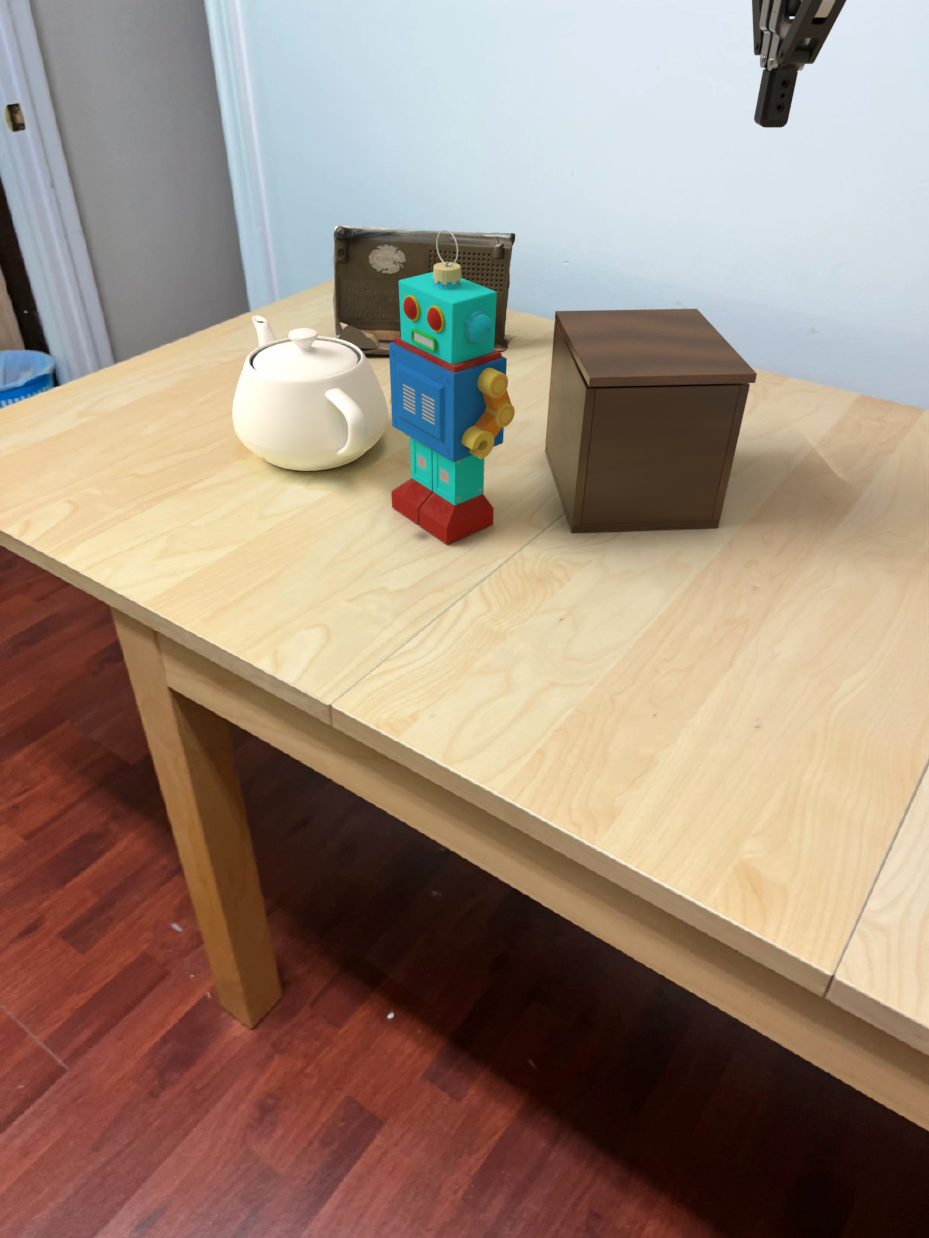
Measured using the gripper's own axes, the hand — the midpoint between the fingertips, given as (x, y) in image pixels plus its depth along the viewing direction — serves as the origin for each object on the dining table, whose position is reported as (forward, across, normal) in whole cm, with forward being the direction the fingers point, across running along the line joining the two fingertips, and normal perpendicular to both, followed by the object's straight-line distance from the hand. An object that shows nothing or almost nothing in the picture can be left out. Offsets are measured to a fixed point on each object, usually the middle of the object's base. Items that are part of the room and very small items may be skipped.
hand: (769, 125), depth 70 cm
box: (+31, -2, +8) cm, 32 cm away
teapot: (+31, +9, +39) cm, 51 cm away
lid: (+17, -2, +8) cm, 19 cm away
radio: (+31, +36, +26) cm, 54 cm away
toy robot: (+31, -6, +26) cm, 41 cm away
